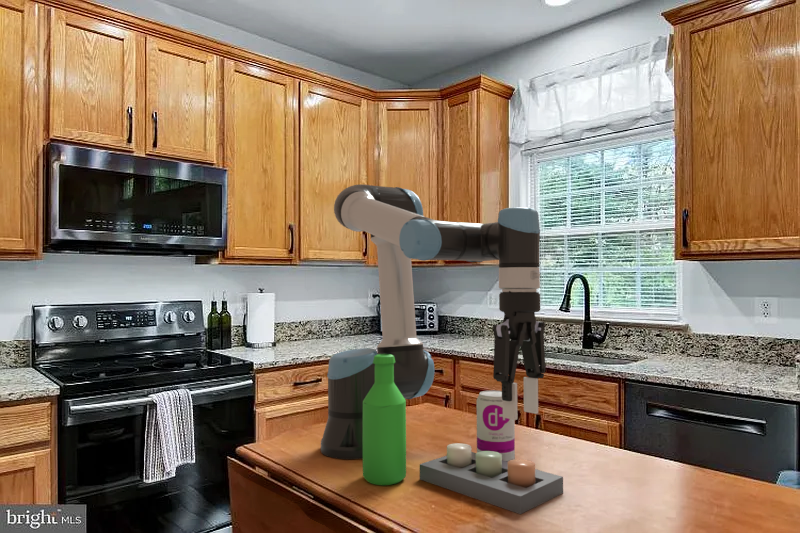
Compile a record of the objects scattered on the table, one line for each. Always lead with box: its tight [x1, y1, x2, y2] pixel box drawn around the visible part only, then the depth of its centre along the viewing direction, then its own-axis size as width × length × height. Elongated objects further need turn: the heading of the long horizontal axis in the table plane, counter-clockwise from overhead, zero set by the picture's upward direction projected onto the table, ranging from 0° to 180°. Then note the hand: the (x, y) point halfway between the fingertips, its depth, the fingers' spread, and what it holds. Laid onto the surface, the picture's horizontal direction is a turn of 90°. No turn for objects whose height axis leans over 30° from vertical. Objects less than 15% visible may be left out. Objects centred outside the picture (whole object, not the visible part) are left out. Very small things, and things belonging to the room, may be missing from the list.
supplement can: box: [476, 390, 516, 462], centre depth 124 cm, size 8×8×15 cm
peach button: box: [508, 458, 536, 487], centre depth 104 cm, size 5×5×4 cm
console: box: [419, 451, 564, 515], centre depth 110 cm, size 24×14×3 cm, turn 44°
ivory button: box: [446, 442, 473, 468], centre depth 115 cm, size 5×5×4 cm
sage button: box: [475, 451, 502, 477], centre depth 110 cm, size 5×5×4 cm
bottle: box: [362, 354, 407, 486], centre depth 114 cm, size 9×9×25 cm
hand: (520, 415), depth 105 cm, fingers open, 6 cm apart
